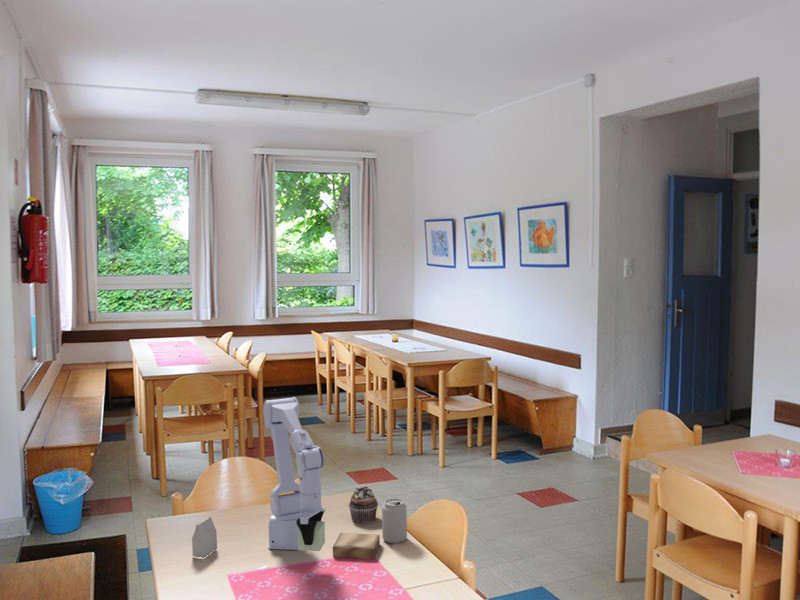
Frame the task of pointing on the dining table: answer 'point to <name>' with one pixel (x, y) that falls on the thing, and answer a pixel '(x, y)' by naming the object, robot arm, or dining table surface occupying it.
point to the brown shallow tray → (356, 545)
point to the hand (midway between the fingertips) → (311, 539)
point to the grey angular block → (204, 538)
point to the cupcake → (363, 505)
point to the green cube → (317, 540)
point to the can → (394, 521)
